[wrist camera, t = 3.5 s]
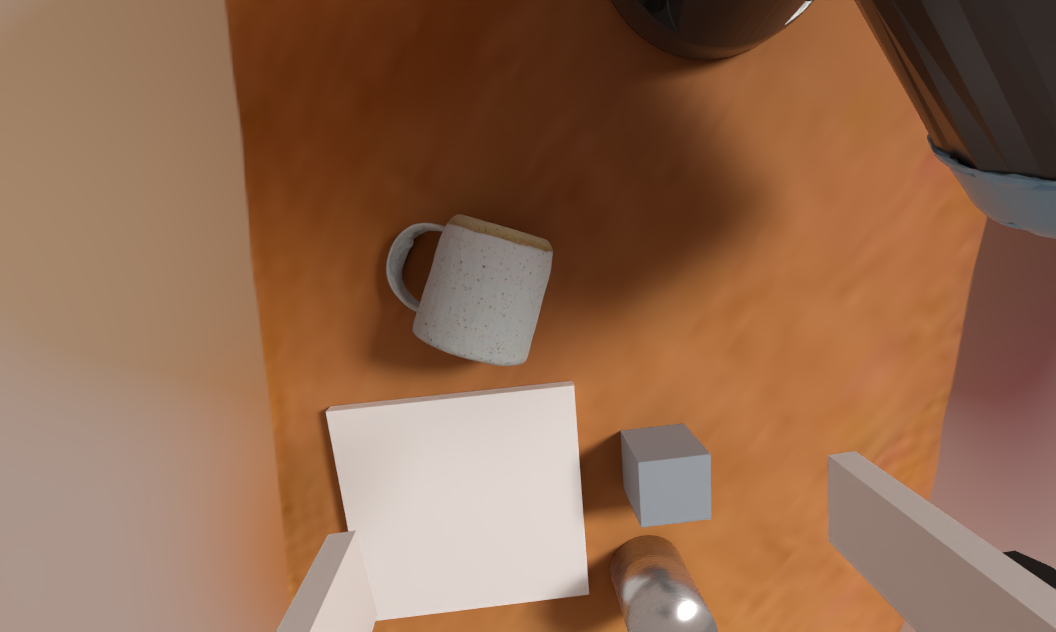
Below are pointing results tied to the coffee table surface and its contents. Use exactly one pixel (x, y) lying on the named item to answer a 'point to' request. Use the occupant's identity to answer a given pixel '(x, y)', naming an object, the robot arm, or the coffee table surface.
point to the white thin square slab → (464, 497)
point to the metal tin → (657, 588)
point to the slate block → (666, 475)
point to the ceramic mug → (476, 289)
